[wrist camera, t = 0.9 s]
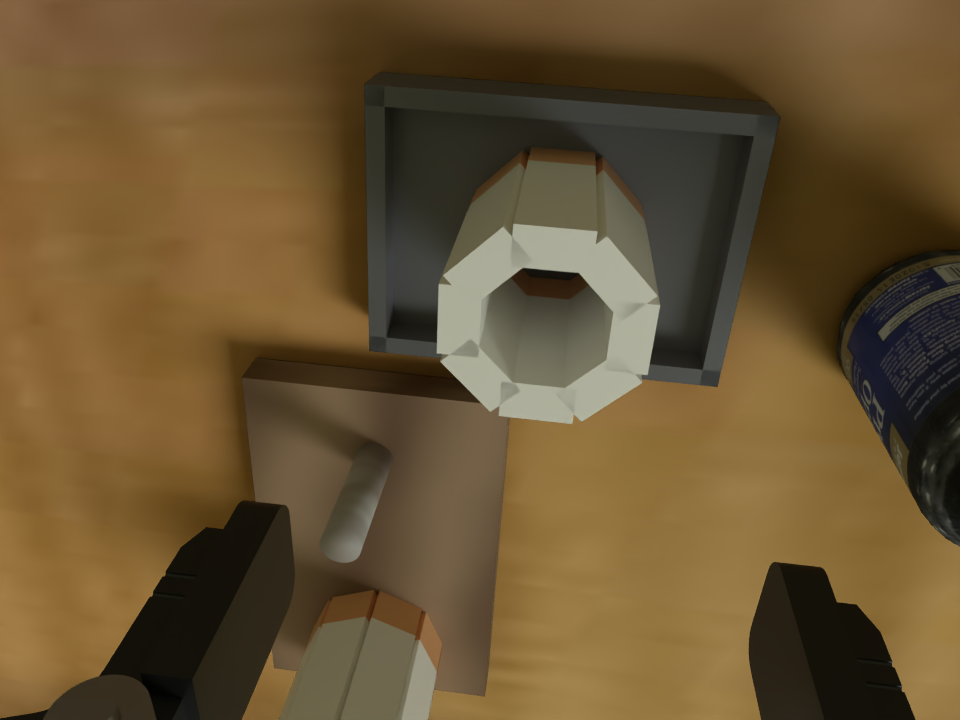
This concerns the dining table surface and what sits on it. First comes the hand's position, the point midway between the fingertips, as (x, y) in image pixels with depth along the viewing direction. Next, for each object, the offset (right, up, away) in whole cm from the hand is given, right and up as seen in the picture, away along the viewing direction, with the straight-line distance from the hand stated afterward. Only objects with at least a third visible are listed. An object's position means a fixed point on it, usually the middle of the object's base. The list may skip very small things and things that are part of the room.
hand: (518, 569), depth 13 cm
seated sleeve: (-5, -9, +23) cm, 25 cm away
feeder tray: (+2, +8, +14) cm, 16 cm away
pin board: (-5, -4, +21) cm, 22 cm away
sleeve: (+2, +8, +13) cm, 15 cm away
